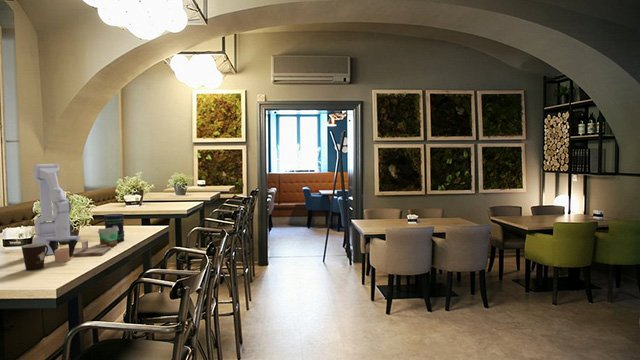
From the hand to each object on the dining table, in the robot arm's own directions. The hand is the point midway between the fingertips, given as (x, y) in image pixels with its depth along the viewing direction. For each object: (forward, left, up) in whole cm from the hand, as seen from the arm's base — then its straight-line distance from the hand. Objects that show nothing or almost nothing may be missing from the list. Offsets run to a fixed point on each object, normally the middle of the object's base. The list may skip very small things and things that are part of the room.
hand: (63, 256), depth 205 cm
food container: (+13, +29, -2) cm, 32 cm away
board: (+5, +13, -1) cm, 14 cm away
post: (+5, +13, 0) cm, 14 cm away
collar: (0, 0, -1) cm, 1 cm away
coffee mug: (-5, -14, -2) cm, 15 cm away
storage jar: (+11, +43, -2) cm, 44 cm away
